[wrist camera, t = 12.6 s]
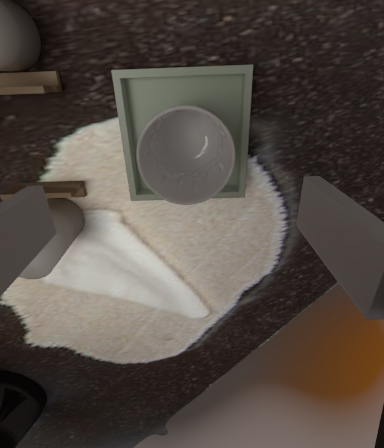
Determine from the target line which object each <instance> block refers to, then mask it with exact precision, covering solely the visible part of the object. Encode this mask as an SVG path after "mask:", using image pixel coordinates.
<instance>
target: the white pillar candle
mask: <svg viewBox="0 0 384 448" xmlns="http://www.w3.org/2000/svg"><path fill="white" fill-rule="evenodd" d="M40 52H41V40H40V35H39V32H38V29H37V27H36V25H35V23H34V21H33V19H32V18H31V16H30V15H29V14H28V13H27V12H26V11H25V10H24V9H23V8H22V7H21V6H19V5H18V4H16V3H15V2H13V1H11V0H0V71H15V72H21V71H26V70H28V69H30V68H32V67H33V66H34V65H35V64H36V62H37V61H38V59H39V56H40Z"/></svg>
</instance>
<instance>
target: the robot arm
mask: <svg viewBox="0 0 384 448" xmlns="http://www.w3.org/2000/svg"><path fill="white" fill-rule="evenodd" d="M296 226H297V227H298V229H299V230H300V231H301V233H302V234H303V235H304V237H305V238H306V239H307V241H308V242H309V243H310V245H311V246H312V247H313V249H314V250H315V252H316V253H317V254H318V256H319V257H320V258H321V260H322V261H323V262H324V264H325V265H326V266H327V268H328V269H329V270H330V272H331V273H332V274H333V276H334V277H335V278H336V280H337V281H338V283H339V284H340V285H341V287H342V288H343V289H344V291H345V292H346V293H347V295H348V296H349V297H350V299H351V300H352V301H353V303H354V304H355V305H356V307H357V308H358V309H359V311H360V312H361V313H362V315H363V316H364V317H365V319H366V320H374V319H384V220H383V219H381V218H379V217H376V216H374V215H373V214H372V213H370V212H369V211H368V210H366V209H365V208H363V207H362V206H361V205H359V204H358V203H356V202H355V201H354V200H352V199H351V198H349V197H348V196H347V195H345V194H344V193H342V192H341V191H340V190H338V189H337V188H336V187H334V186H333V185H331V184H330V183H329V182H327V181H326V180H324V179H323V178H322V177H320V176H304V180H303V186H302V192H301V199H300V205H299V211H298V217H297V223H296ZM56 234H57V232H56V228H55V225H54V222H53V218H52V215H51V212H50V209H49V205H48V202H47V199H46V195H45V192H44V189H43V185H39V186H26V187H25V188H23V189H22V190H20V191H18V192H17V193H15V194H14V195H12V196H11V197H9V198H7V199H6V200H4V201H3V202H1V203H0V296H1V295H2V294H3V293H4V292H5V291H6V290H7V288H8V287H9V286H10V285H11V284H12V283H13V282H14V281H15V279H16V278H17V277H18V276H19V275H20V274H21V273H22V272H23V270H24V269H25V268H26V267H27V266H28V265H29V264H30V263H31V262H32V260H33V259H34V258H35V257H36V256H37V255H38V254H39V253H40V251H41V250H42V249H43V248H44V247H45V246H46V245H47V244H48V242H49V241H50V240H51V239H52V238H53V237H54V236H55V235H56ZM46 401H47V399H46V395H45V393H44V391H43V390H42V389H41V388H40V387H39V386H38V385H37V384H36V383H34V382H33V381H31V380H29V379H27V378H25V377H23V376H20V375H17V374H14V373H9V372H3V371H0V448H15V447H16V446H17V444H18V443H19V442H20V441H21V439H22V438H23V437H24V436H25V435H26V433H27V432H28V431H29V430H30V428H31V427H32V426H33V424H34V423H35V422H36V421H37V420H38V418H39V417H40V415H41V414H42V411H43V409H44V407H45V405H46ZM375 448H384V405H383V410H382V415H381V419H380V424H379V429H378V434H377V439H376V443H375Z"/></svg>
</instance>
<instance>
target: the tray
mask: <svg viewBox="0 0 384 448" xmlns="http://www.w3.org/2000/svg"><path fill="white" fill-rule="evenodd" d="M111 71H112V77H113V84H114V91H115V97H116V104H117V111H118V117H119V124H120V131H121V137H122V144H123V151H124V157H125V164H126V171H127V177H128V184H129V191H130V197H131V201H140V200H164V199H162V198H161V197H159V196H158V195H156V194H155V193H154V192H153V191H152V190H151V189H150V188H149V187H148V186H147V185H146V183H145V182H144V180H143V179H142V177H141V174H140V172H139V169H138V165H137V158H136V151H137V144H138V140H139V137H140V135H141V133H142V131H143V129H144V128H145V126H146V125H147V123H148V122H149V121H150V120H151V119H152V118H153V117H155V116H156V115H157V114H159V113H160V112H162V111H164V110H166V109H168V108H171V107H173V106H176V105H180V104H193V105H197V106H200V107H202V108H205V109H206V110H208V111H209V112H211V113H212V114H213V115H215V116H216V117H217V118H219V119H220V120H221V121H222V122H223V124H224V125H225V126H226V128H227V129H228V131H229V133H230V135H231V137H232V140H233V143H234V147H235V164H234V169H233V172H232V174H231V177H230V179H229V181H228V182H227V184H226V185H225V186H224V188H223V189H222V190H221V191H220V192H219V193H217V194H216V195H215V196H213V197H212V198H239V197H245V190H246V174H247V157H248V141H249V125H250V109H251V93H252V76H253V65H232V66H206V67H181V68H155V69H129V70H111Z"/></svg>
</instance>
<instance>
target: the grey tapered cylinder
mask: <svg viewBox="0 0 384 448" xmlns="http://www.w3.org/2000/svg"><path fill="white" fill-rule="evenodd" d="M47 202H48V205H49V209H50V212H51V215H52V218H53V222H54V225H55V228H56V232H57V234H56V235H55V236H54V237H53V238H52V239H51V240H50V241H49V242H48V244H47V245H46V246H45V247H44V248H43V249H42V250H41V251H40V253H39V254H38V255H37V256H36V257H35V258H34V259H33V260H32V262H31V263H30V264H29V265H28V266H27V267H26V268H25V269H24V270H23V272H22V273H21V274H20V275H19V277H22V278H26V279H39V278H43V277H45V276H47V275H48V274H49V273H50V272H51V271H52V270H53V268H54V267H55V266H56V264H57V263H58V262H59V260H60V259H61V258H62V256H63V255H64V254H65V252H66V251H67V250H68V248H69V247H70V246H71V244H72V243H73V241H74V240H75V239H76V237H77V236H78V235H79V233H80V232H81V231H82V229H83V227H84V223H85V219H84V215H83V213H82V211H81V209H80V208H79V207H78V206H77V205H76V204H75V203H74V202H72V201H70V200H68V199H66V198H48V199H47Z"/></svg>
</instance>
